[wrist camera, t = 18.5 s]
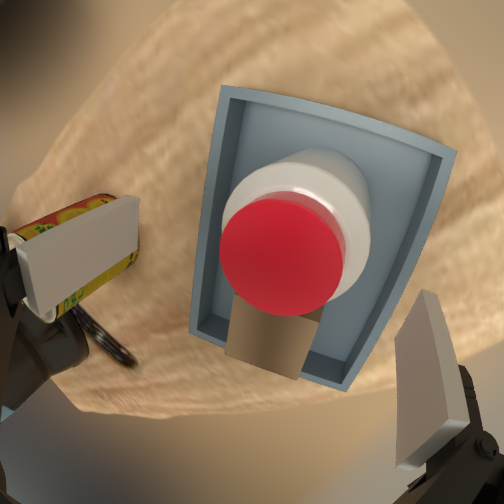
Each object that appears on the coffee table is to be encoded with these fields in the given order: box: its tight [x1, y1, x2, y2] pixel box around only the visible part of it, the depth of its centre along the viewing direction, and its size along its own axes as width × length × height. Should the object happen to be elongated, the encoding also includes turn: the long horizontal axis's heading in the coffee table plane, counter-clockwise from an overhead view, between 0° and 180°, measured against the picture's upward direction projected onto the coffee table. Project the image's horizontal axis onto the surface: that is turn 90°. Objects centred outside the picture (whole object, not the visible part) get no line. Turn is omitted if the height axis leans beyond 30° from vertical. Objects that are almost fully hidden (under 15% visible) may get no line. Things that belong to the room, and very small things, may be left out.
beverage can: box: [7, 194, 139, 323], centre depth 28 cm, size 9×9×12 cm
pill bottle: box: [219, 147, 371, 316], centre depth 18 cm, size 8×8×11 cm
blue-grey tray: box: [189, 85, 457, 392], centre depth 24 cm, size 16×22×4 cm
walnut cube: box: [225, 292, 325, 380], centre depth 24 cm, size 6×6×6 cm
